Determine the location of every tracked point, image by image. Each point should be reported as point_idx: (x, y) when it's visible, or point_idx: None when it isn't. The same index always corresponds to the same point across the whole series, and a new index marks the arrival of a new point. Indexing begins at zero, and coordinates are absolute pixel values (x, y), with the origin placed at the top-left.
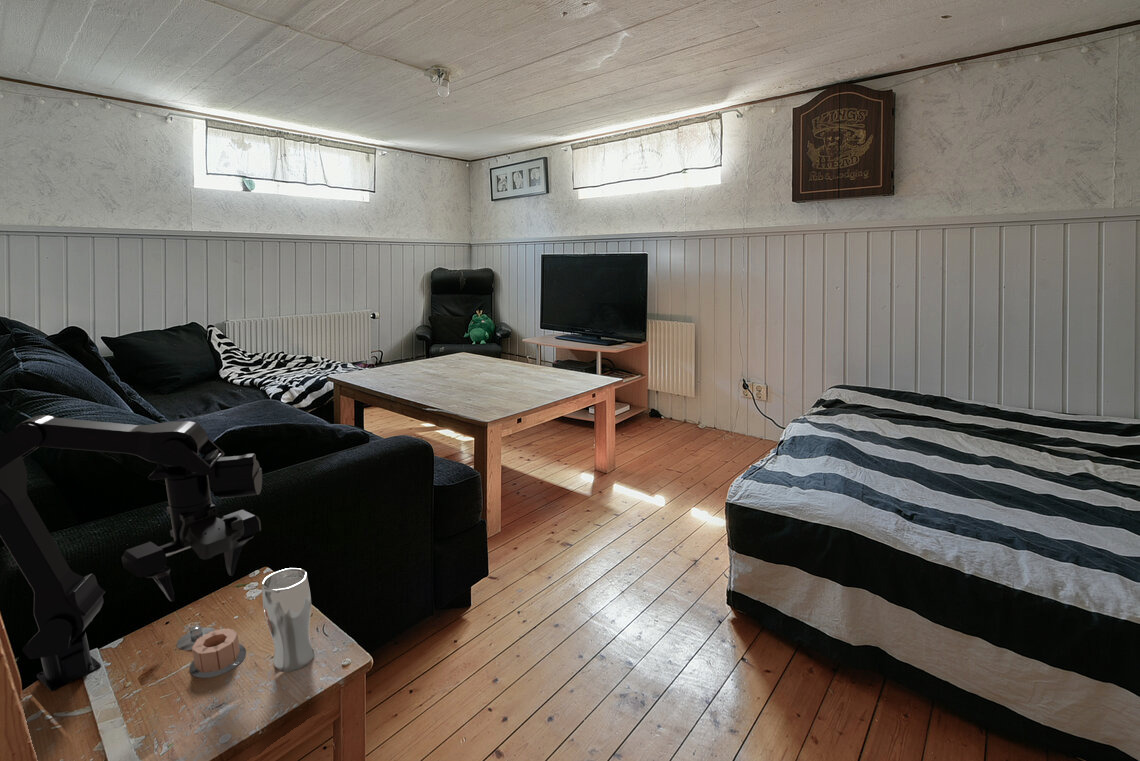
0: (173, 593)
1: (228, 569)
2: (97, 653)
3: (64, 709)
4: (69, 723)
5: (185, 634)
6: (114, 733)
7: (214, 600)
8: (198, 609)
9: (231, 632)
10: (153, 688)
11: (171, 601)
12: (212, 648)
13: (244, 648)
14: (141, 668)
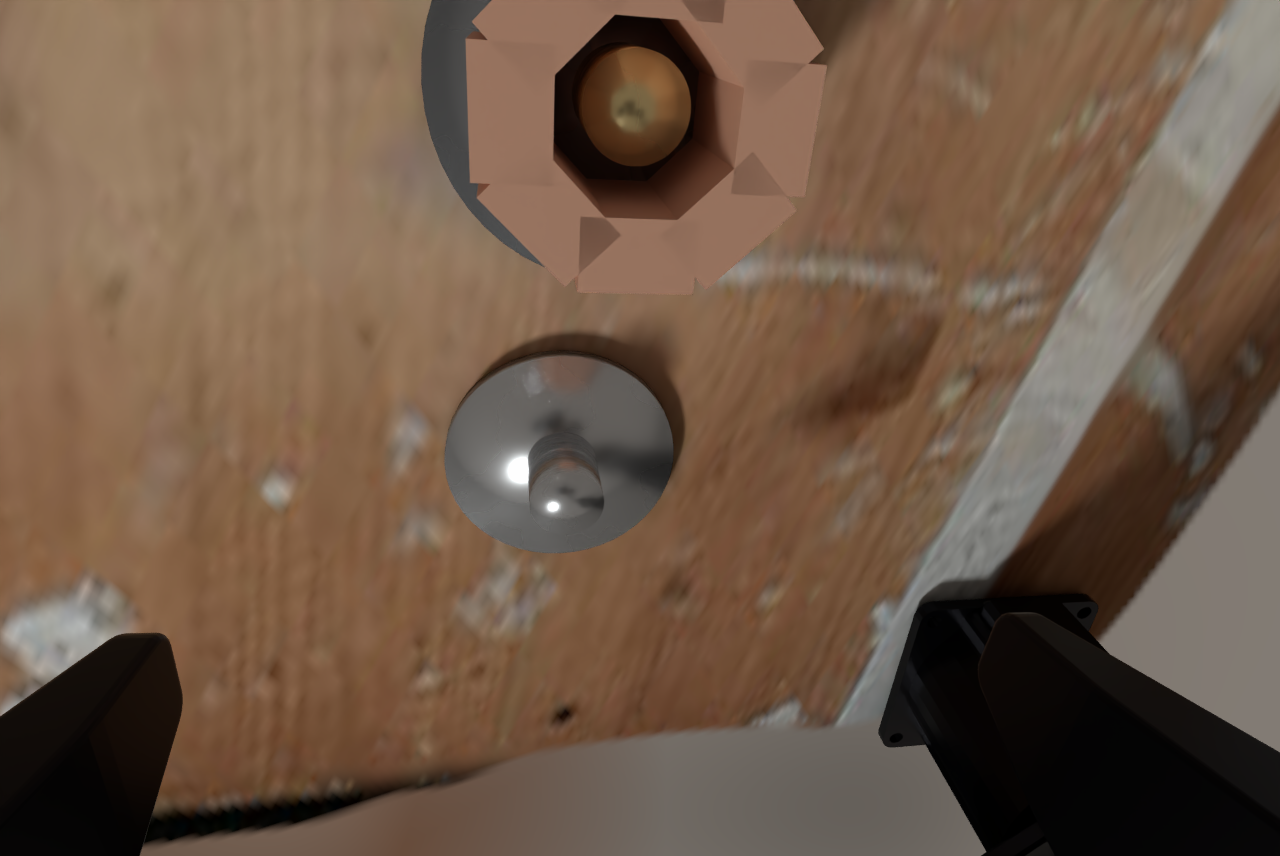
0: (1100, 686)
1: (136, 769)
2: (851, 711)
3: (1155, 450)
4: (1227, 333)
5: (578, 548)
6: (1271, 28)
7: (300, 730)
8: (403, 713)
9: (493, 105)
10: (944, 231)
11: (1035, 614)
12: (728, 23)
13: (432, 23)
14: (850, 460)
